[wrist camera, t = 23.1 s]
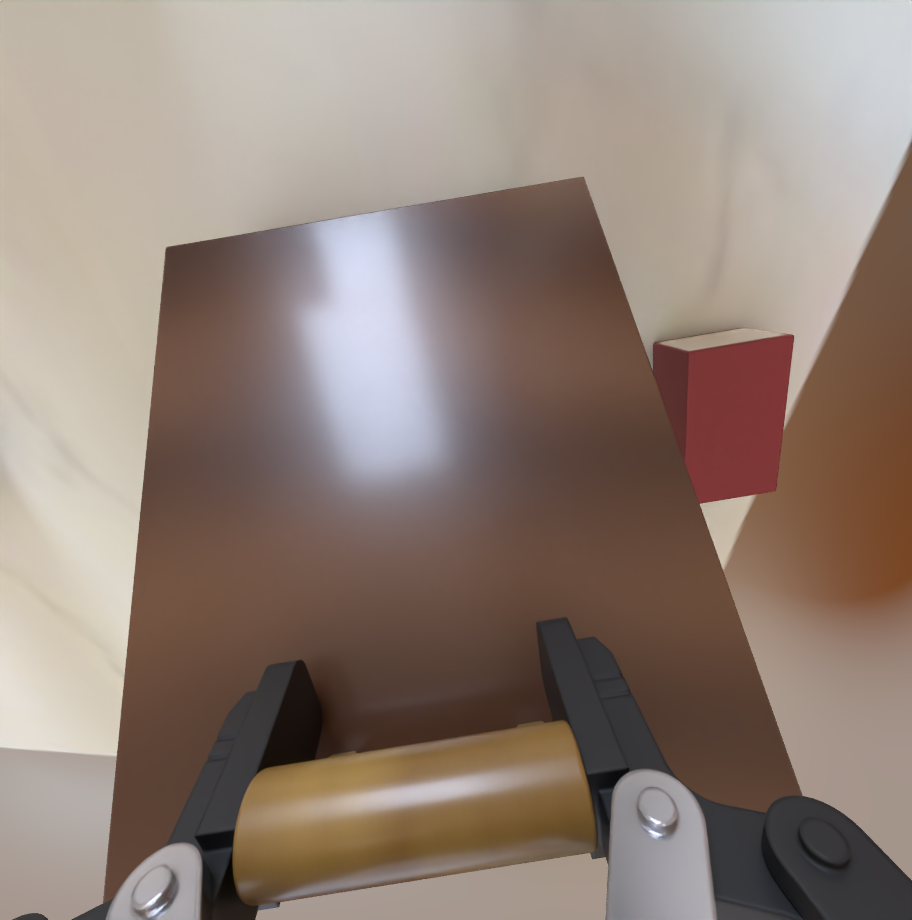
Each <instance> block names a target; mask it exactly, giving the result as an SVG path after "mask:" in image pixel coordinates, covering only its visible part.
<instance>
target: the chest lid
mask: <svg viewBox="0 0 912 920" xmlns="http://www.w3.org/2000/svg"><path fill="white" fill-rule="evenodd" d="M563 617H567V618H568V620H569V622H570V624H571V627H572V629H573V632H574V634H575V637H576V639H583V638H589V637H596V638H597V639H598V640H599V641H600V642H601V643H602V644H603V645H604V646H606V647H607V648H608V649H609V650H610V651H611V652H612V653H613V655H614V657H615V659H616V661H617V663H618V666H619V668H620V670H621V672H622V675H623V677H624V678H625V680H626V682H627V684H628V686H629V688H630V691H631V694H633V696H634V698H635V700H636V702H637V704H638V706H639V708H640V710H641V712H642V714H643V716H644V718H645V720H646V722H647V724H648V726H649V728H650V731H651V733H652V735H653V737H654V739H655V741H656V743H657V745H658V747H659V749H660V751H661V753H662V755H663V757H664V759H665V761H666V763H667V764H668V766H669V768H670V769H671V770H672V772H673V773H674V774H675V776H676V777H677V778H678V779H679V780H680V781H681V782H682V783H683V784H685V785H686V786H687V787H688V788H689V789H691V790H692V791H694V792H695V793H697V794H698V795H700V796H702V797H704V798H706V799H708V800H711V801H713V802H716V803H720V804H724V805H729V806H734V807H739V808H744V809H749V810H754V811H760V812H765V813H766V812H767V810H768V808H769V806H770V805H771V804H772V803H773V802H774V801H775V800H777V799H779V798H782V797H785V796H794V795H796V796H802V793H801V790H800V787H799V785H798V782H797V779H796V776H795V773H794V770H793V768H792V765H791V762H790V759H789V757H788V754H787V751H786V748H785V745H784V742H783V739H782V737H781V734H780V731H779V728H778V725H777V722H776V719H775V717H774V714H773V711H772V708H771V705H770V703H769V700H768V697H767V694H766V691H765V688H764V686H763V683H762V680H761V677H760V675H759V672H758V669H757V666H756V663H755V660H754V657H753V654H752V652H751V649H750V646H749V643H748V640H747V637H746V635H745V632H744V629H743V626H742V623H741V620H740V618H739V615H738V612H737V609H736V607H735V603H734V601H733V598H732V595H731V592H730V589H729V587H728V584H727V581H726V578H725V575H724V572H723V569H722V567H721V564H720V561H719V558H718V555H717V552H716V550H715V547H714V544H713V541H712V538H711V535H710V533H709V530H708V527H707V524H706V521H705V518H704V516H703V513H702V510H701V507H700V504H699V502H698V499H697V496H696V493H695V490H694V487H693V485H692V482H691V479H690V476H689V473H688V470H687V468H686V465H685V462H684V459H683V456H682V453H681V451H680V448H679V445H678V442H677V439H676V436H675V434H674V431H673V428H672V425H671V422H670V419H669V417H668V414H667V411H666V408H665V405H664V402H663V400H662V397H661V394H660V391H659V388H658V385H657V383H656V380H655V377H654V374H653V371H652V368H651V366H650V363H649V360H648V357H647V354H646V351H645V349H644V346H643V343H642V340H641V337H640V334H639V332H638V329H637V326H636V323H635V320H634V317H633V315H632V312H631V309H630V306H629V303H628V301H627V298H626V295H625V292H624V289H623V286H622V284H621V281H620V278H619V275H618V272H617V269H616V267H615V264H614V261H613V258H612V255H611V252H610V250H609V247H608V244H607V241H606V238H605V235H604V233H603V230H602V227H601V224H600V221H599V218H598V216H597V213H596V210H595V207H594V204H593V201H592V199H591V196H590V193H589V190H588V187H587V184H586V182H585V179H584V177H578V178H572V179H566V180H560V181H554V182H549V183H543V184H537V185H531V186H525V187H519V188H513V189H507V190H501V191H495V192H489V193H484V194H478V195H472V196H466V197H460V198H454V199H448V200H442V201H436V202H430V203H425V204H419V205H413V206H407V207H401V208H395V209H389V210H383V211H377V212H371V213H366V214H360V215H354V216H348V217H342V218H336V219H330V220H324V221H318V222H312V223H306V224H301V225H295V226H289V227H283V228H277V229H271V230H265V231H259V232H253V233H247V234H242V235H236V236H230V237H224V238H218V239H212V240H206V241H200V242H194V243H188V244H182V245H177V246H171V247H166V252H165V262H164V273H163V283H162V294H161V304H160V314H159V325H158V335H157V346H156V356H155V366H154V377H153V387H152V398H151V408H150V418H149V429H148V439H147V450H146V460H145V470H144V481H143V491H142V502H141V512H140V522H139V533H138V543H137V553H136V564H135V574H134V585H133V595H132V605H131V616H130V626H129V637H128V647H127V657H126V668H125V678H124V689H123V699H122V709H121V720H120V730H119V741H118V751H117V761H116V772H115V782H114V793H113V803H112V813H111V824H110V835H109V844H108V855H107V865H106V876H105V886H104V897H103V903H105V902H107V901H109V900H111V899H113V898H114V897H115V895H116V893H117V892H118V890H119V889H120V887H121V886H122V884H123V883H124V881H125V880H126V879H127V878H128V876H129V875H130V874H131V873H132V872H133V871H134V870H135V869H136V867H137V866H139V865H140V864H141V863H142V862H143V861H144V860H145V859H147V858H148V857H149V856H151V855H152V854H153V853H155V852H157V851H158V850H160V849H162V848H164V847H165V846H166V844H167V842H168V840H169V838H170V836H171V834H172V832H173V830H174V828H175V825H176V823H177V821H178V819H179V817H180V815H181V813H182V810H183V808H184V806H185V804H186V802H187V800H188V798H189V796H190V793H191V791H192V789H193V787H194V785H195V783H196V781H197V779H198V776H199V774H200V772H201V770H202V768H203V766H204V764H205V762H206V761H208V755H209V753H210V751H211V749H212V747H213V744H214V742H215V741H217V736H218V734H219V732H220V730H221V727H222V725H223V723H224V721H225V719H226V717H227V715H228V713H229V712H230V711H231V709H232V708H233V707H234V706H235V705H236V704H237V702H238V701H239V700H240V699H241V698H242V697H243V695H244V694H245V693H246V692H251V691H256V690H257V687H258V685H259V683H260V680H261V678H262V676H263V673H264V671H265V669H266V668H267V666H268V665H270V664H276V663H282V662H288V661H294V660H303V661H304V662H305V664H306V666H307V669H308V672H309V675H310V677H311V680H312V683H313V685H314V688H315V691H316V694H317V696H318V699H319V702H320V705H321V710H322V731H321V736H320V740H319V744H318V748H317V752H316V756H315V760H312V761H306V762H300V763H293V764H287V765H281V766H275V767H269V768H265V769H263V770H262V771H260V772H259V773H258V774H257V775H256V776H255V777H254V778H253V780H252V781H251V782H250V784H249V786H248V788H247V790H246V792H245V795H244V797H243V800H242V803H241V806H240V809H239V813H238V817H237V822H236V827H235V834H234V842H233V857H232V858H233V877H234V883H235V887H236V891H237V894H238V896H239V898H240V899H241V901H242V902H243V903H245V904H247V905H249V906H259V905H265V904H271V903H278V902H284V901H290V900H296V899H303V898H309V897H314V896H322V895H328V894H334V893H340V892H347V891H352V890H359V889H366V888H371V887H378V886H384V885H390V884H397V883H403V882H409V881H415V880H422V879H428V878H434V877H441V876H447V875H453V874H459V873H466V872H472V871H478V870H484V869H491V868H496V867H503V866H510V865H516V864H522V863H528V862H535V861H541V860H547V859H554V858H560V857H566V856H572V855H579V854H585V853H591V852H594V851H595V850H596V849H597V848H598V830H597V822H596V816H595V811H594V805H593V801H592V796H591V792H590V787H589V783H588V779H587V775H586V771H585V767H584V764H583V760H582V757H581V753H580V750H579V747H578V744H577V741H576V738H575V736H574V733H573V731H572V729H571V727H570V725H569V724H568V722H567V721H564V720H560V721H554V722H553V718H552V715H551V711H550V707H549V704H548V700H547V697H546V693H545V688H544V684H543V678H542V673H541V665H540V656H539V647H538V639H537V630H536V622H539V621H545V620H551V619H557V618H563Z"/></svg>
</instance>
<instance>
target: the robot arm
mask: <svg viewBox="0 0 912 920" xmlns="http://www.w3.org/2000/svg"><path fill="white" fill-rule="evenodd" d="M536 630H537V639H538V647H539V656H540V665H541V673H542V678H543V684H544V688H545V693H546V697H547V700H548V704H549V707H550V711H551V715H552V718H553V722H554V721H560V720H564V721H567V722H568V724H569V725H570V727H571V729H572V731H573V733H574V736H575V738H576V741H577V744H578V747H579V750H580V753H581V757H582V760H583V764H584V767H585V771H586V775H587V779H588V783H589V787H590V792H591V796H592V801H593V805H594V811H595V816H596V822H597V830H598V848H597V849H596V850H595V851H594V852H591V857H592V859H596V858H602V857H606V860H607V863H608V883H607V903H606V920H912V880H911V879H910V878H909V877H908V876H907V875H906V874H905V873H904V872H903V871H902V870H901V869H900V868H899V867H898V866H897V865H896V864H895V863H894V862H893V861H892V860H891V859H890V858H889V857H888V856H887V855H886V854H885V853H884V852H883V851H882V850H881V849H880V848H879V847H878V846H877V845H876V844H875V843H874V842H873V840H872V839H871V838H870V837H869V836H868V835H867V834H866V833H865V832H864V831H863V830H862V829H861V828H860V827H859V826H858V825H856V824H855V823H854V822H853V821H852V820H851V819H849V818H848V817H847V816H845V815H844V814H843V813H841V812H840V811H838V810H837V809H835V808H833V807H831V806H830V805H828V804H825V803H824V802H821V801H818V800H815V799H813V798H808V797H805V796H796V795H794V796H785V797H782V798H779V799H777V800H775V801H774V802H773V803H772V804H771V805H770V806H769V808H768V810H767V812H766V813H765V812H760V811H754V810H749V809H744V808H739V807H734V806H729V805H724V804H720V803H716V802H713V801H711V800H708V799H706V798H704V797H702V796H700V795H698V794H697V793H695V792H694V791H692V790H691V789H689V788H688V787H687V786H686V785H685V784H683V783H682V782H681V781H680V780H679V779H678V778H677V777H676V776H675V774H674V773H673V772H672V770H671V769H670V768H669V766H668V764H667V763H666V761H665V759H664V757H663V755H662V753H661V751H660V749H659V747H658V745H657V743H656V741H655V739H654V737H653V735H652V733H651V731H650V728H649V726H648V724H647V722H646V720H645V718H644V716H643V714H642V712H641V710H640V708H639V706H638V704H637V702H636V700H635V698H634V696H633V694H631V691H630V688H629V686H628V684H627V682H626V680H625V678H624V677H623V675H622V672H621V670H620V668H619V666H618V663H617V661H616V659H615V657H614V655H613V653H612V652H611V651H610V650H609V649H608V648H607V647H606V646H604V645H603V644H602V643H601V642H600V641H599V640H598V639H597V638H596V637H589V638H583V639H576V637H575V634H574V632H573V629H572V627H571V624H570V622H569V620H568V618H567V617H563V618H557V619H551V620H545V621H539V622H536ZM321 731H322V710H321V705H320V702H319V699H318V696H317V694H316V691H315V688H314V685H313V683H312V680H311V677H310V675H309V672H308V669H307V666H306V664H305V662H304V661H303V660H294V661H288V662H282V663H276V664H270V665H268V666H267V668H266V669H265V671H264V673H263V676H262V678H261V680H260V683H259V685H258V687H257V690H256V691H251V692H246V693H245V694H244V695H243V697H242V698H241V699H240V700H239V701H238V702H237V704H236V705H235V706H234V707H233V708H232V709H231V711H230V712H229V713H228V715H227V717H226V719H225V721H224V723H223V725H222V727H221V730H220V732H219V734H218V736H217V741H215V742H214V744H213V747H212V749H211V751H210V753H209V755H208V761H206V762H205V764H204V766H203V768H202V770H201V772H200V774H199V776H198V779H197V781H196V783H195V785H194V787H193V789H192V791H191V793H190V796H189V798H188V800H187V802H186V804H185V806H184V808H183V810H182V813H181V815H180V817H179V819H178V821H177V823H176V825H175V828H174V830H173V832H172V834H171V836H170V838H169V840H168V842H167V844H166V846H165V847H164V848H162V849H160V850H158V851H157V852H155V853H153V854H152V855H151V856H149V857H148V858H147V859H145V860H144V861H143V862H142V863H141V864H140V865H139V866H137V867H136V869H135V870H134V871H133V872H132V873H131V874H130V875H129V876H128V878H127V879H126V880H125V881H124V883H123V884H122V886H121V887H120V889H119V890H118V892H117V893H116V895H115V897H114V898H113V899H111V900H109V901H107V902H105V903H103V904H101V905H99V906H97V907H95V908H93V909H92V910H90V911H88V912H86V913H84V914H82V915H80V916H78V917H76V918H74V919H72V920H255V918H256V915H257V911H258V910H263V909H270V908H276V907H279V905H280V902H278V903H271V904H265V905H259V906H249V905H247V904H245V903H243V902H242V901H241V899H240V898H239V896H238V894H237V891H236V887H235V883H234V877H233V858H232V857H233V842H234V834H235V827H236V822H237V817H238V813H239V809H240V806H241V803H242V800H243V797H244V795H245V792H246V790H247V788H248V786H249V784H250V782H251V781H252V780H253V778H254V777H255V776H256V775H257V774H258V773H259V772H260V771H262V770H263V769H265V768H269V767H275V766H281V765H287V764H293V763H300V762H306V761H312V760H315V756H316V752H317V748H318V744H319V740H320V736H321ZM13 920H48V919H47V918H46V917H45V916H43V915H42V914H38V913H32V914H26V915H22V916H20V917H18V918H15V919H13Z"/></svg>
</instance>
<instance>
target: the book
mask: <svg viewBox="0 0 912 920" xmlns="http://www.w3.org/2000/svg"><path fill="white" fill-rule="evenodd" d="M793 342H794V335H790V334H785V333H778V332H770V331H763V330H756V329H749V328H741V329H735V330H729V331H723V332H717V333H711V334H705V335H699V336H693V337H687V338H681V339H675V340H670V341H664V342H658V343H654V353H653V374H654V377H655V380H656V383H657V385H658V388H659V391H660V394H661V397H662V400H663V402H664V405H665V408H666V411H667V414H668V417H669V419H670V422H671V425H672V428H673V431H674V434H675V436H676V439H677V442H678V445H679V448H680V451H681V453H682V456H683V459H684V462H685V465H686V468H687V470H688V473H689V476H690V479H691V482H692V485H693V487H694V490H695V493H696V496H697V499H698V502H699V504H700V503H706V502H712V501H719V500H725V499H731V498H737V497H743V496H749V495H755V494H761V493H767V492H773V491H776V487H777V478H778V469H779V460H780V452H781V443H782V436H783V427H784V419H785V410H786V402H787V393H788V385H789V376H790V367H791V359H792V350H793Z"/></svg>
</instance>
